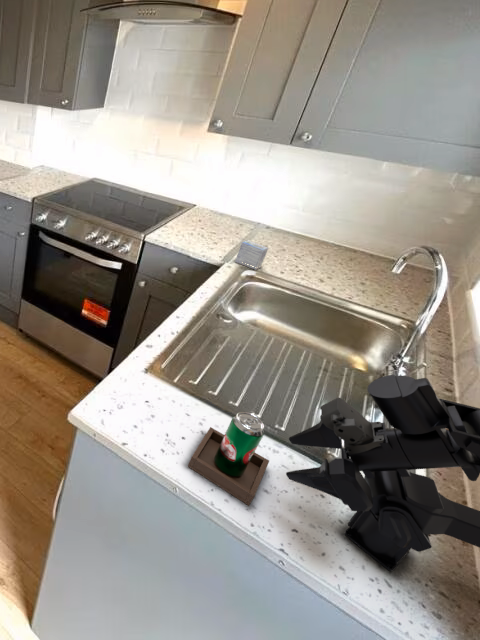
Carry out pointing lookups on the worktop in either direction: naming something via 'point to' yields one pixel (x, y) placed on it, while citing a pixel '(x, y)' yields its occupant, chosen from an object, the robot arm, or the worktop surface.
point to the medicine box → (251, 254)
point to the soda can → (239, 443)
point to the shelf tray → (235, 485)
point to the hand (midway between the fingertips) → (288, 457)
